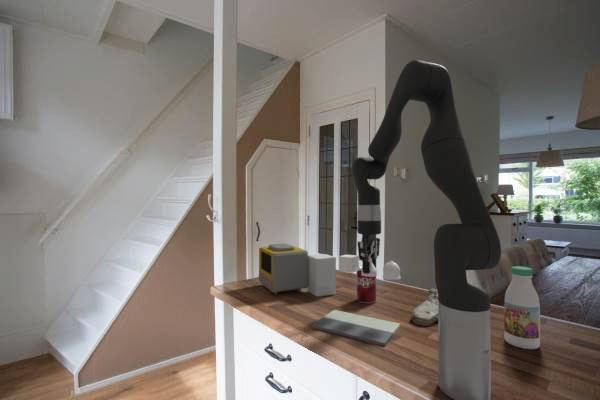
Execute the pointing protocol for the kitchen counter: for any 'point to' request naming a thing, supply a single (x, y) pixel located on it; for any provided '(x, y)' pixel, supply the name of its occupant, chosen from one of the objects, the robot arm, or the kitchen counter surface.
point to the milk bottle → (522, 310)
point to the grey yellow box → (283, 267)
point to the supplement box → (321, 275)
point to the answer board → (358, 327)
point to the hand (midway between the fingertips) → (369, 271)
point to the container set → (352, 265)
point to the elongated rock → (427, 310)
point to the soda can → (366, 288)
